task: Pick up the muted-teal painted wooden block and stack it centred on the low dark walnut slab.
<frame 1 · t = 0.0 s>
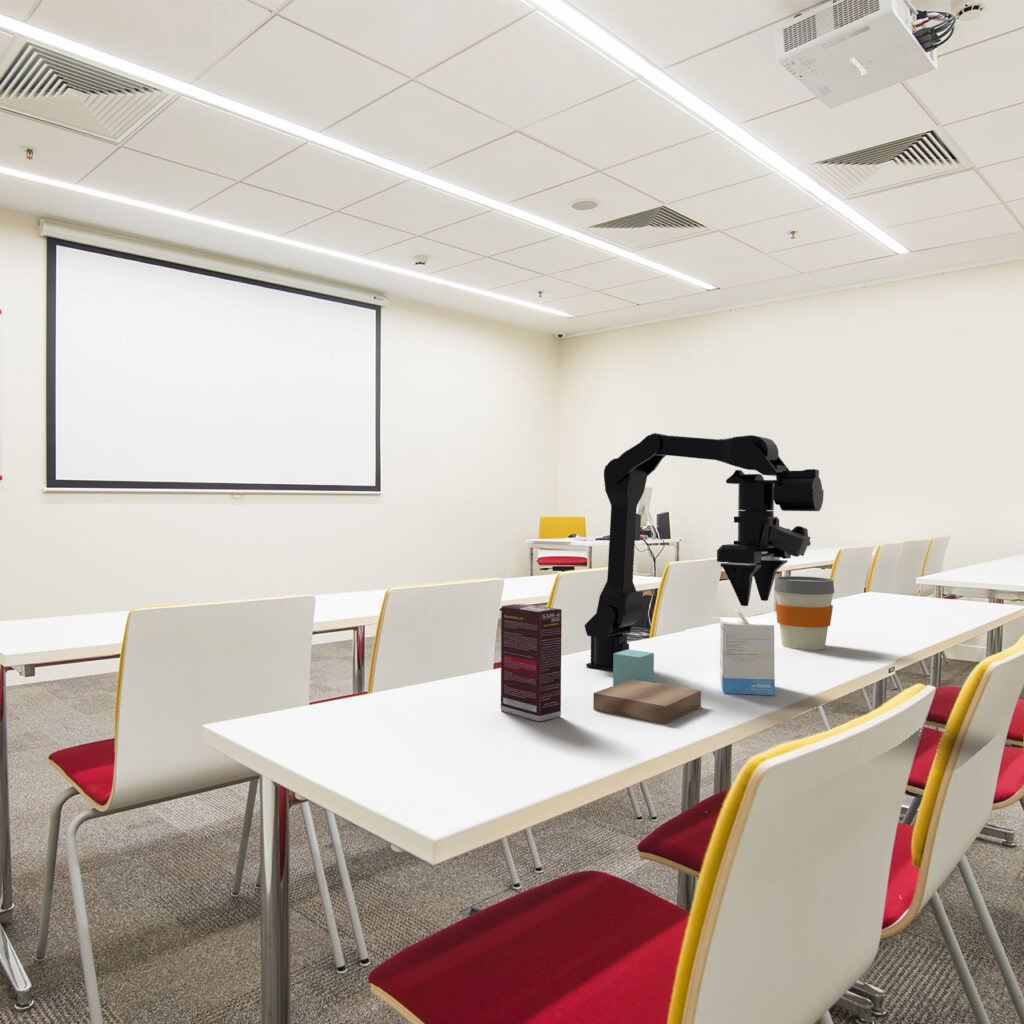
hand: (754, 603, 130), 15 cm above the table, fingers open, 9 cm apart
base: (647, 708, 118), on the table
block: (633, 688, 130), on the table
supplement box: (530, 715, 114), on the table
reusable coffee cup: (803, 647, 171), on the table
ink box: (746, 690, 131), on the table
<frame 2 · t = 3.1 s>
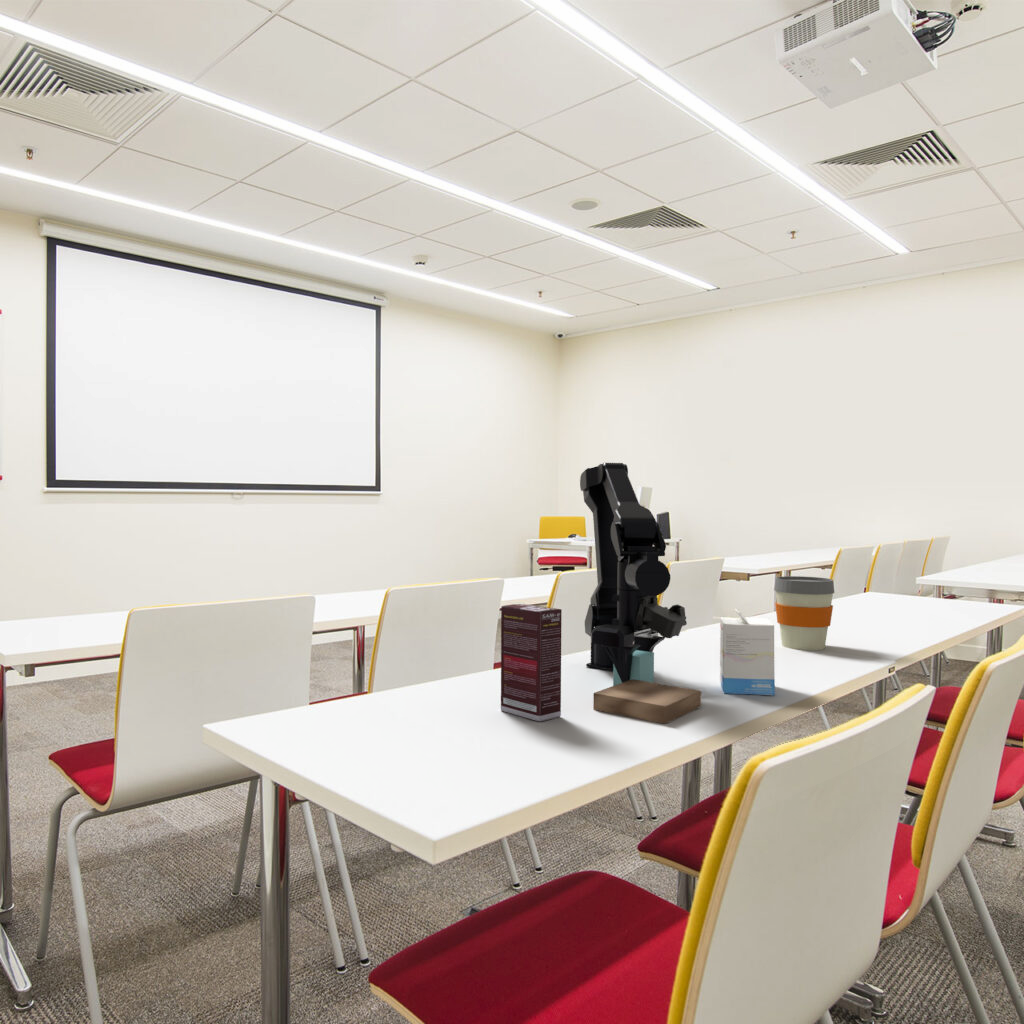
hand: (633, 680, 130), 1 cm above the table, fingers closed on block, 5 cm apart
block: (633, 688, 130), on the table, touching gripper
everything else where it was.
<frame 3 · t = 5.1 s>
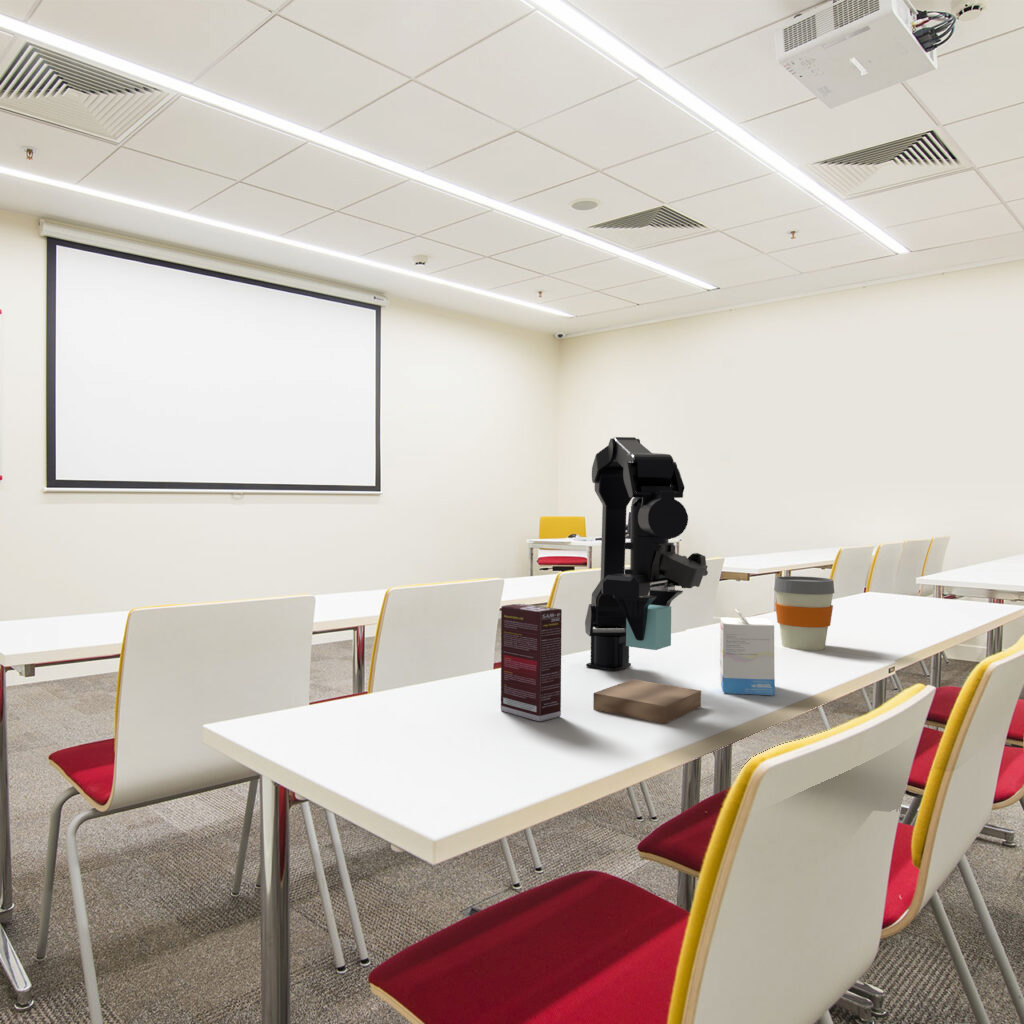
hand: (648, 638, 118), 11 cm above the table, fingers closed on block, 5 cm apart
block: (648, 645, 118), point 10 cm above the table, touching gripper
everything else where it was.
when the fingers open (5 cm above the table, at t = 6.9 s): block drops 1 cm, resting on base.
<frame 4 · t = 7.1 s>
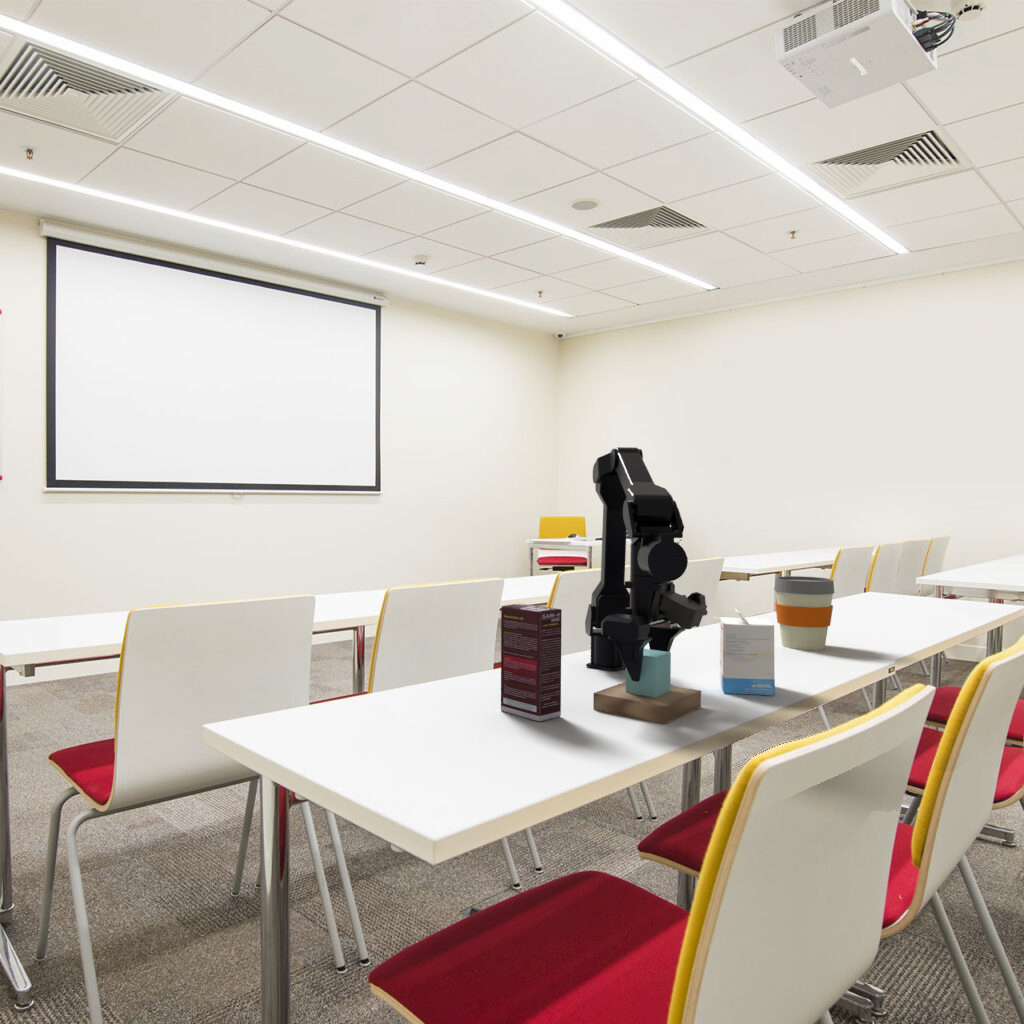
hand: (647, 676, 118), 5 cm above the table, fingers open, 7 cm apart
block: (648, 691, 118), point 2 cm above the table, touching base
everything else where it was.
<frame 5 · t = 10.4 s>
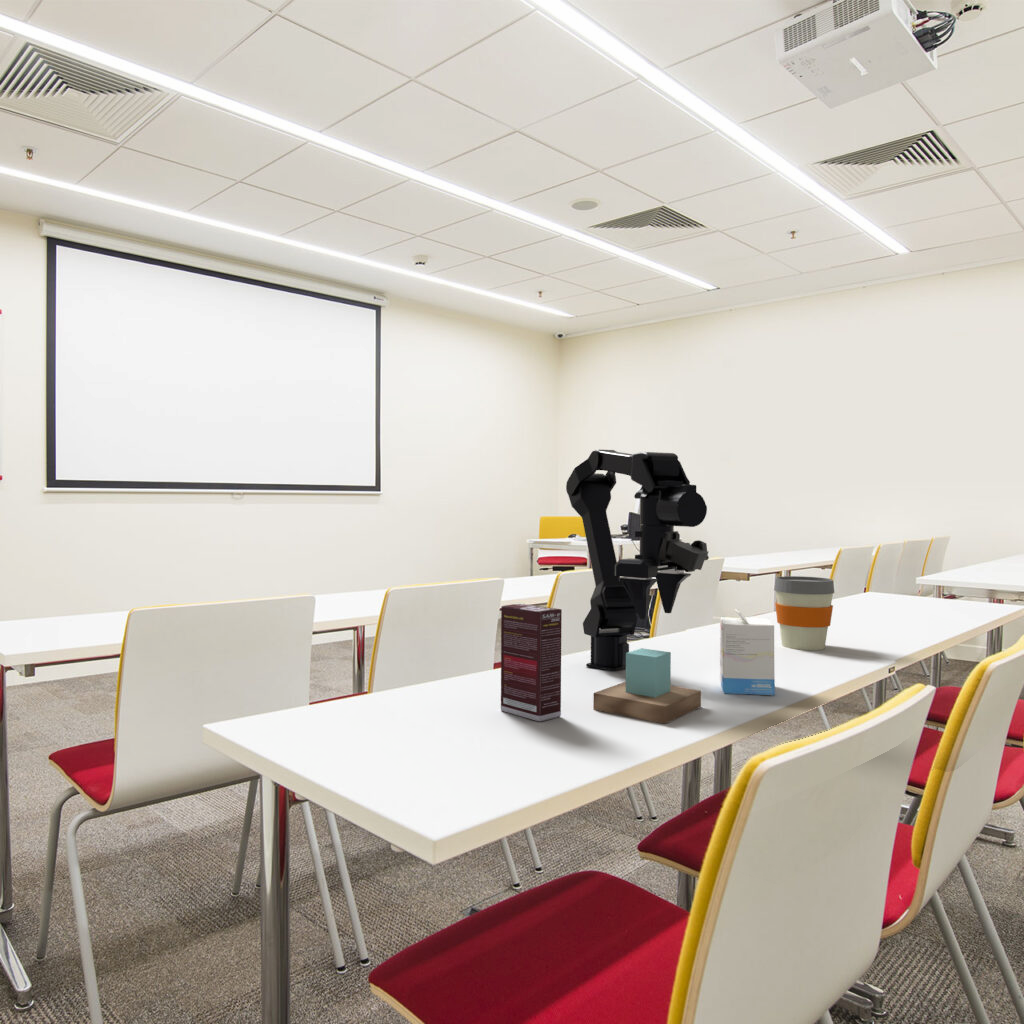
hand: (655, 615, 132), 12 cm above the table, fingers open, 9 cm apart
nothing on the table moved.
at the end: block inside the target area on the base (0.1 cm from its centre), point 2.5 cm above the base's base; block tilted 0°; the gripper is holding nothing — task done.
